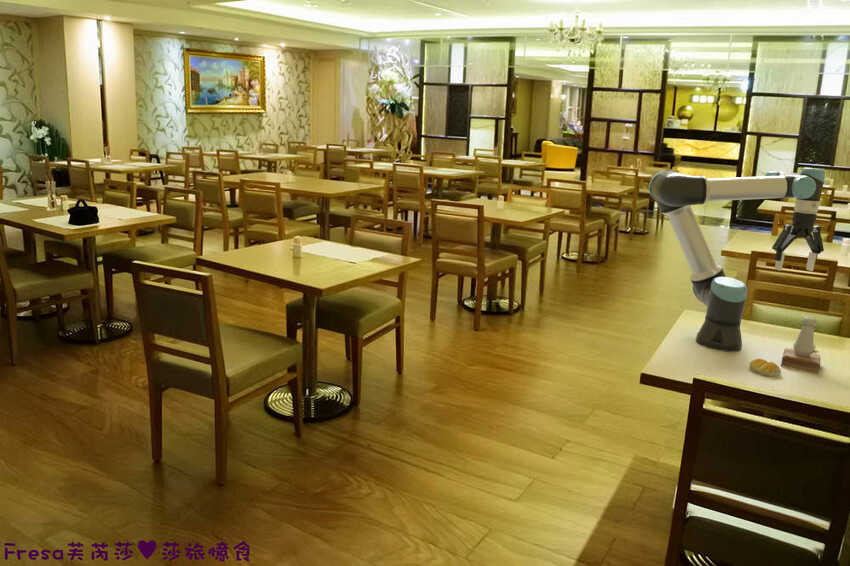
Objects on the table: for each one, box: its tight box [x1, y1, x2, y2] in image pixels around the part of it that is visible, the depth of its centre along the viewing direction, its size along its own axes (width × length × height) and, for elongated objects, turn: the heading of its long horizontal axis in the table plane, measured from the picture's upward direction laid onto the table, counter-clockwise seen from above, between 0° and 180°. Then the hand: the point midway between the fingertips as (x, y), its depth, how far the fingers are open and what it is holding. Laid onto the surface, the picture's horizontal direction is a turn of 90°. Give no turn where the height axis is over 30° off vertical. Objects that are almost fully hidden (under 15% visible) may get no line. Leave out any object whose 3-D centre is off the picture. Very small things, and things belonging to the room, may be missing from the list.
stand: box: [780, 347, 821, 374], centre depth 234 cm, size 11×11×4 cm
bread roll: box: [749, 358, 782, 378], centre depth 224 cm, size 8×9×4 cm
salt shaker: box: [793, 316, 818, 357], centre depth 232 cm, size 6×6×13 cm
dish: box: [792, 339, 817, 350], centre depth 254 cm, size 7×7×2 cm
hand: (793, 270), depth 255 cm, fingers open, 13 cm apart
